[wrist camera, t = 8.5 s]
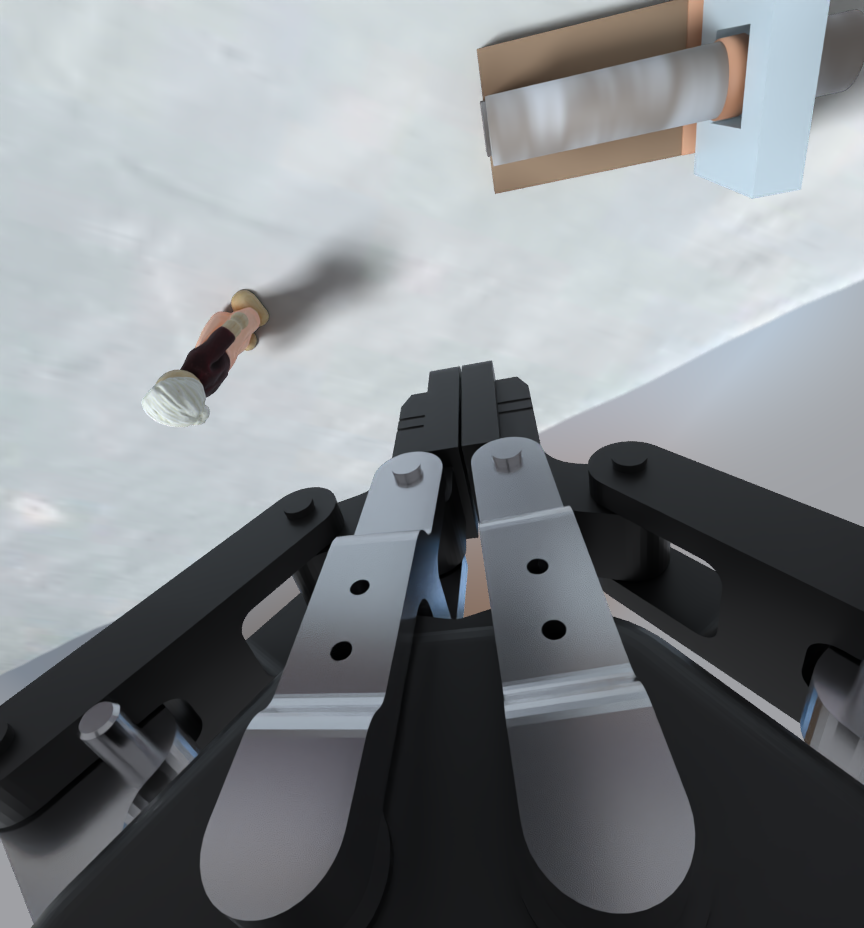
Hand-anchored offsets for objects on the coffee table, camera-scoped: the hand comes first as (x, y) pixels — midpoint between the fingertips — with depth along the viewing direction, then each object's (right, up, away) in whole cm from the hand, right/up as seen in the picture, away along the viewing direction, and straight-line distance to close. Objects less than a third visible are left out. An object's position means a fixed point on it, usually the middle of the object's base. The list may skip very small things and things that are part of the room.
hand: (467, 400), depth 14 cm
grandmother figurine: (-15, +8, +27) cm, 32 cm away
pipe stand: (+10, +19, +17) cm, 28 cm away
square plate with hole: (+14, +18, +15) cm, 28 cm away
